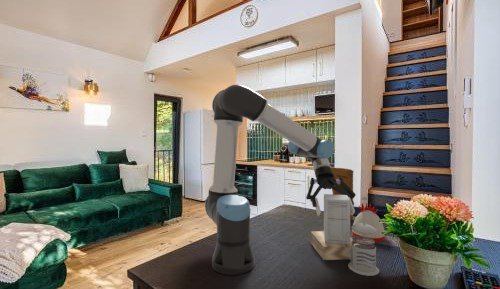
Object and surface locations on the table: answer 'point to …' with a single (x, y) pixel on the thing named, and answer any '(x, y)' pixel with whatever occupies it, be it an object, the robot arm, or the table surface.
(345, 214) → the supplement box
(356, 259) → the french press
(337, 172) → the pancake mix bag
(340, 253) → the oak riser
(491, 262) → the table surface
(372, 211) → the crested helmet
